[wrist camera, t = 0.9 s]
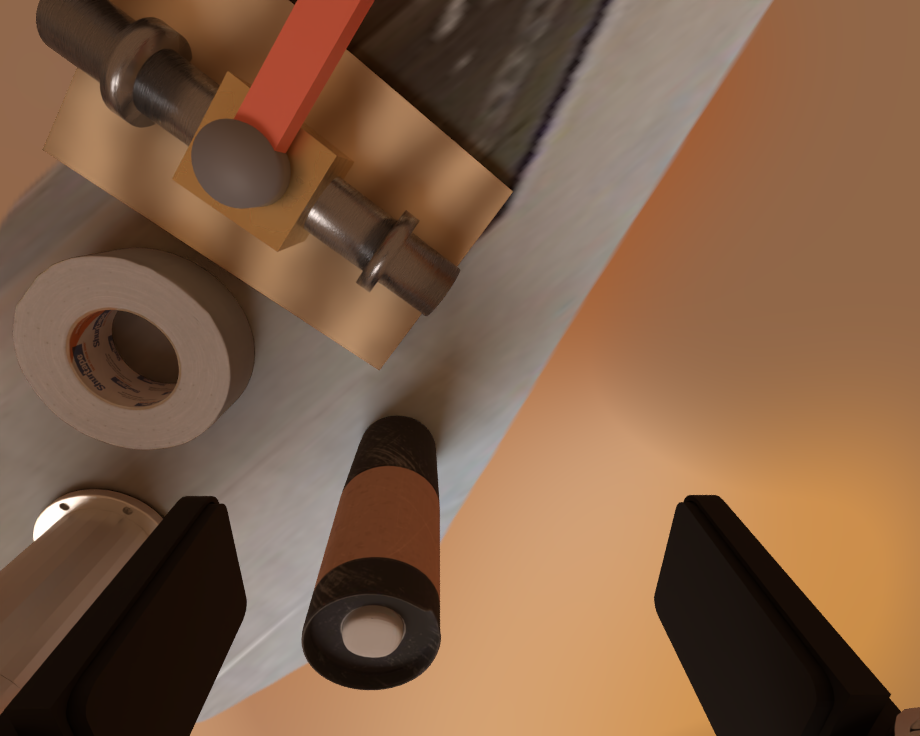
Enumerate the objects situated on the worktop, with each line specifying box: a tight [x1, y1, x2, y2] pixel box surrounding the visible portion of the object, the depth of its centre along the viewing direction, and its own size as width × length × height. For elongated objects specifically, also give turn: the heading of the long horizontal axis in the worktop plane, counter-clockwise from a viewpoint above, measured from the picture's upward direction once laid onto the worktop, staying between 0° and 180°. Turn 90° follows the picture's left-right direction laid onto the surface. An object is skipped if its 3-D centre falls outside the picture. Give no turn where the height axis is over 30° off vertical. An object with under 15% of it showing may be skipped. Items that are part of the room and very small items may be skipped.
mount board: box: [43, 0, 513, 370], centre depth 34 cm, size 28×18×1 cm, turn 53°
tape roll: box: [13, 248, 255, 450], centre depth 36 cm, size 15×15×5 cm
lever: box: [191, 0, 374, 209], centre depth 24 cm, size 15×4×3 cm, turn 143°
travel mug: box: [302, 416, 441, 690], centre depth 34 cm, size 8×8×20 cm
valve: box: [36, 0, 460, 316], centre depth 31 cm, size 28×7×8 cm, turn 53°
